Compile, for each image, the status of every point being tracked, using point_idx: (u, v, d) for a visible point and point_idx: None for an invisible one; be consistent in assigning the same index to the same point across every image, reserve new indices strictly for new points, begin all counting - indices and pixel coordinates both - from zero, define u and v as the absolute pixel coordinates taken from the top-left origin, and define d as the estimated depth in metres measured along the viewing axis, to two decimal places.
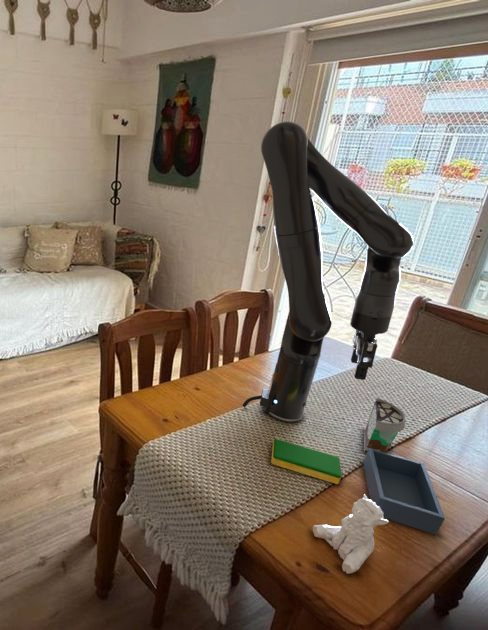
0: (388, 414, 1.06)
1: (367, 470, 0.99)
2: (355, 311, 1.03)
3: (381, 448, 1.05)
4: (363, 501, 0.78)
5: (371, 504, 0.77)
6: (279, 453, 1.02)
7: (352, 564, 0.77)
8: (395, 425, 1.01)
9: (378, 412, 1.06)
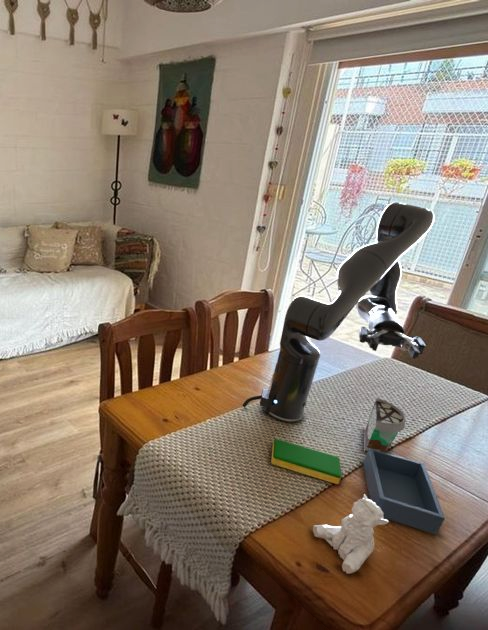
0: (388, 414, 1.06)
1: (367, 470, 0.99)
2: (394, 317, 1.24)
3: (381, 448, 1.05)
4: (363, 501, 0.78)
5: (371, 504, 0.77)
6: (279, 453, 1.02)
7: (352, 564, 0.77)
8: (395, 425, 1.01)
9: (378, 412, 1.06)
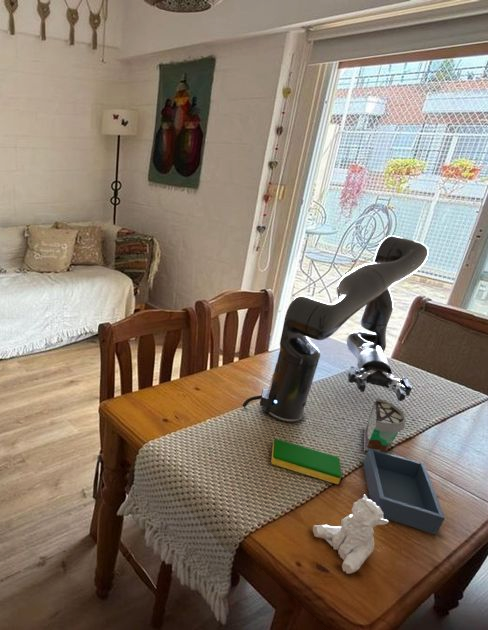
0: (388, 414, 1.06)
1: (367, 470, 0.99)
2: (382, 357, 1.26)
3: (381, 448, 1.05)
4: (363, 501, 0.78)
5: (371, 504, 0.77)
6: (279, 453, 1.02)
7: (352, 564, 0.77)
8: (395, 425, 1.01)
9: (378, 412, 1.06)
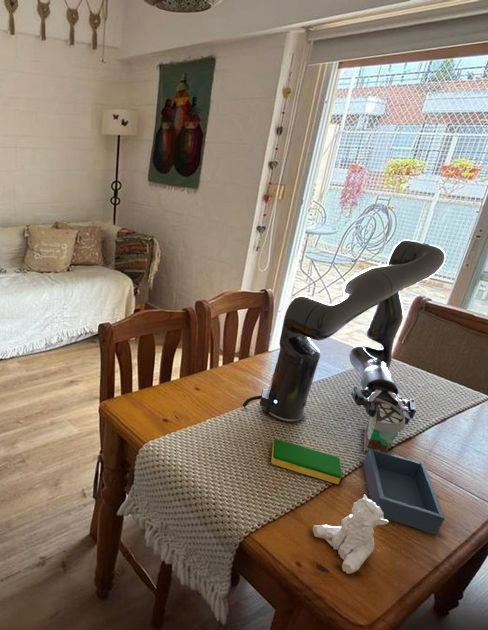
0: (387, 414, 1.06)
1: (367, 470, 0.99)
2: (388, 375, 1.18)
3: (381, 448, 1.05)
4: (363, 501, 0.78)
5: (371, 504, 0.77)
6: (279, 453, 1.02)
7: (352, 564, 0.77)
8: (395, 425, 1.01)
9: (378, 412, 1.06)
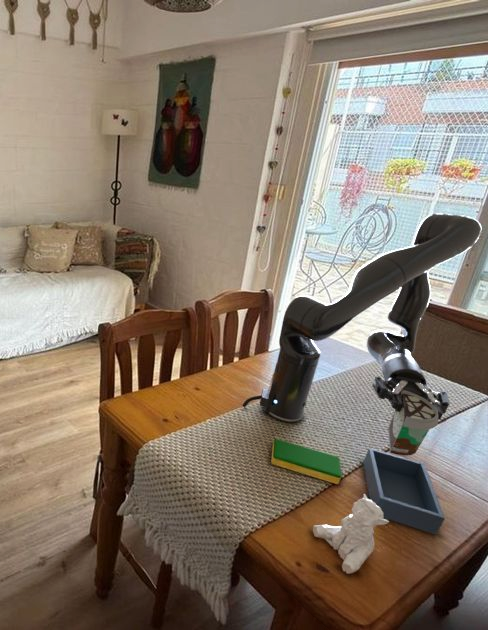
0: (417, 408, 0.92)
1: (367, 470, 0.99)
2: (414, 364, 1.04)
3: (410, 447, 0.91)
4: (363, 501, 0.78)
5: (371, 504, 0.77)
6: (279, 453, 1.02)
7: (352, 564, 0.77)
8: (427, 421, 0.87)
9: (406, 406, 0.92)
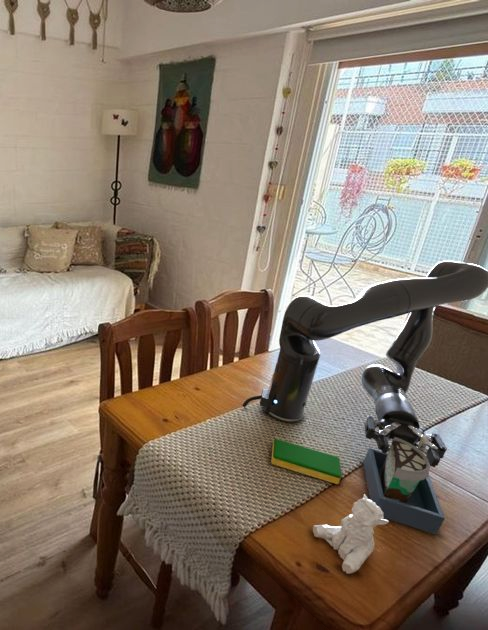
0: (408, 457, 0.91)
1: (367, 470, 0.99)
2: (407, 405, 1.03)
3: (401, 497, 0.90)
4: (363, 501, 0.78)
5: (371, 504, 0.77)
6: (279, 453, 1.02)
7: (352, 564, 0.77)
8: (418, 473, 0.87)
9: (397, 455, 0.91)
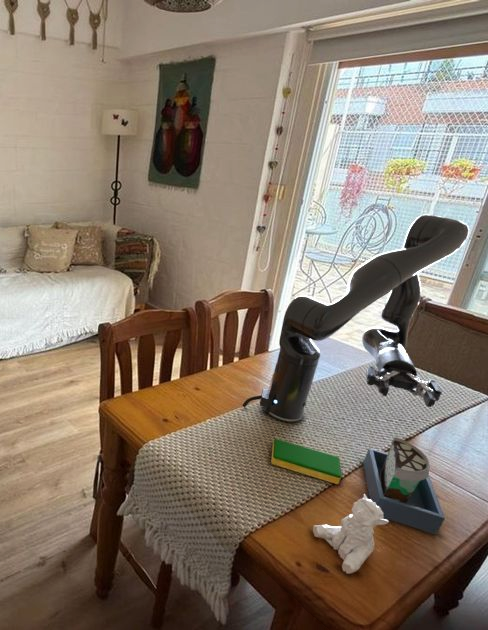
0: (408, 457, 0.91)
1: (367, 470, 0.99)
2: (405, 356, 1.11)
3: (401, 497, 0.90)
4: (363, 501, 0.78)
5: (371, 504, 0.77)
6: (279, 453, 1.02)
7: (352, 564, 0.77)
8: (418, 473, 0.87)
9: (397, 455, 0.91)
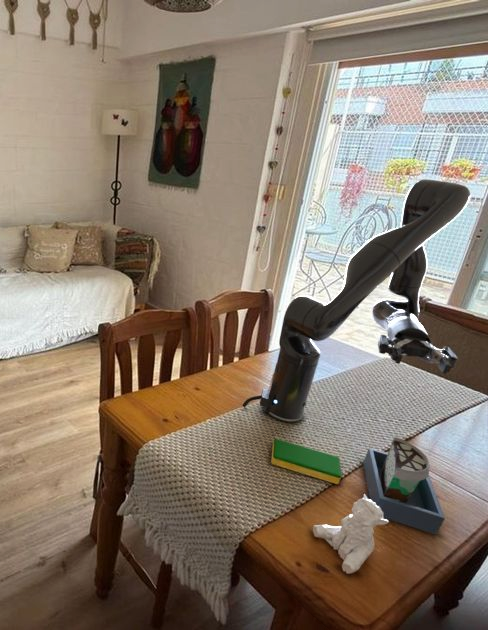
0: (408, 457, 0.91)
1: (367, 470, 0.99)
2: (418, 324, 1.07)
3: (401, 497, 0.90)
4: (363, 501, 0.78)
5: (371, 504, 0.77)
6: (279, 453, 1.02)
7: (352, 564, 0.77)
8: (418, 473, 0.87)
9: (397, 455, 0.91)
